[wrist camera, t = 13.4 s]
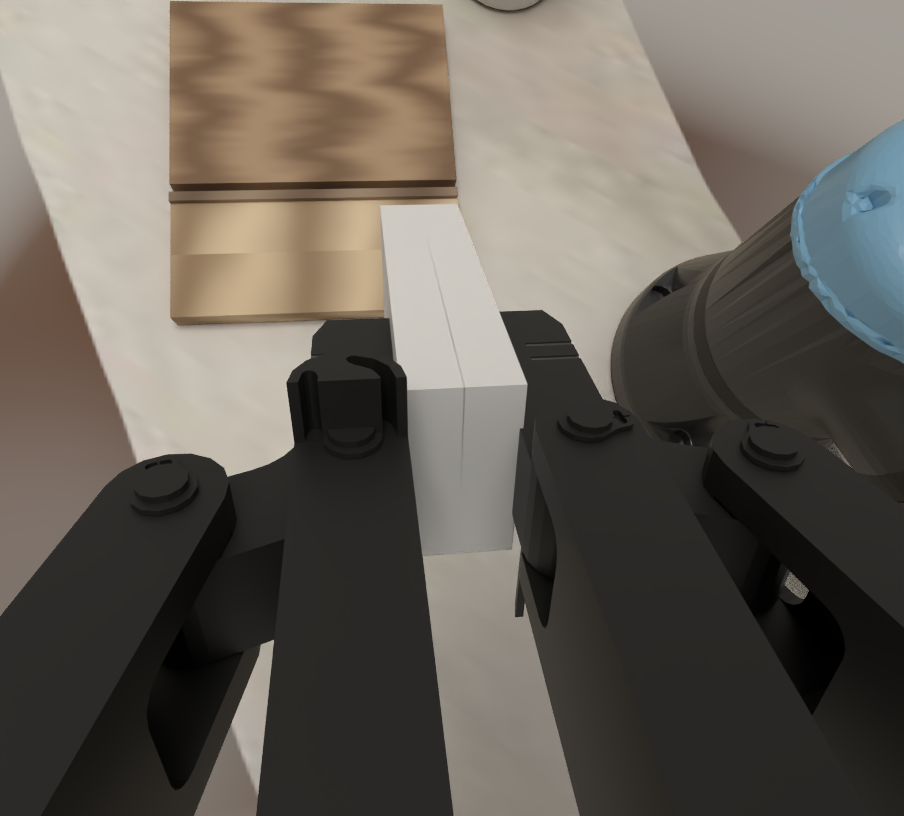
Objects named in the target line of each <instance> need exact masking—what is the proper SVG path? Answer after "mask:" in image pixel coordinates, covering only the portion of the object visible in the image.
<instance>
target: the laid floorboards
mask: <svg viewBox="0 0 904 816" xmlns="http://www.w3.org/2000/svg"><path fill="white" fill-rule="evenodd" d="M457 197H458V192H457V187H420V188H360V189H300V190H239V191H179V192H169V202H170V203H171V300H170V317H171V319H172V320H173V321H174V322H175V323H176V324H177V325H190V324H217V323H244V322H271V321H298V320H325V319H352V318H379V317H384V297H383V271H382V246H381V220H380V205H430V204H457ZM457 205H458V204H457Z"/></svg>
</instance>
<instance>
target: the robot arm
mask: <svg viewBox="0 0 904 816" xmlns="http://www.w3.org/2000/svg"><path fill="white" fill-rule="evenodd" d="M380 220H381V246H382V271H383V297H384V318H379V319H352V320H327V321H326V322H325V323H324V324H323V326H322V327H321V328H320V329H319V330H318V331H317V332H316V333H315V334H314V335H313V338H312V349H311V359H309V360H306V361H305V362H304V363H302V364H301V365H300V366H298V367H297V368H295V369H294V370H293V371H292V373H291V375H290V377H289V379H288V381H287V391H288V398H289V406H290V413H291V421H292V428H293V435H294V448H293V449H292V450H291V451H289V452H288V453H287V454H286V455H285V456H283V457H281V458H280V459H278V460H276V461H274V462H272V463H270V464H268V465H265V466H262V467H260V468H257V469H254V470H251V471H247V472H243V473H240V474H236V475H233V476H229V477H227V475H226V472H225V470H224V468H223V467H222V466H220V465H219V464H218V463H216V462H215V461H213V460H212V459H211V458H207V457H202V456H198V455H194V454H168V455H164V456H160V457H156V458H152V459H148V460H144V461H142V462H140V463H138V464H136V465H134V466H132V467H130V468H128V469H126V470H124V471H122V472H121V473H120V474H118V475H117V476H116V477H115V478H114V479H113V480H112V481H110V482H109V483H108V484H107V485H106V486H105V487H104V488H103V490H102V491H101V492H100V493H99V494H98V496H97V497H96V498H95V500H94V501H93V502H92V503H91V504H90V506H89V507H88V508H87V509H86V511H85V512H84V513H83V514H82V516H81V517H80V518H79V519H78V521H77V522H76V523H75V524H74V526H73V527H72V528H71V529H70V530H69V532H68V533H67V534H66V536H65V537H64V538H63V539H62V541H61V542H60V543H59V544H58V545H57V547H56V548H55V549H54V550H53V551H52V553H51V554H50V555H49V557H48V558H47V559H46V560H45V562H44V563H43V564H42V565H41V567H40V568H39V569H38V570H37V571H36V573H35V574H34V575H33V577H32V578H31V579H30V580H29V581H28V582H27V584H26V585H25V586H24V587H23V589H22V590H21V591H20V592H19V594H18V595H17V596H16V597H15V599H14V600H13V601H12V602H11V604H10V605H9V606H8V607H7V609H6V610H5V611H4V612H3V614H2V615H1V616H0V816H194V814H195V811H196V809H197V807H198V804H199V802H200V799H201V797H202V794H203V792H204V789H205V787H206V784H207V782H208V779H209V777H210V775H211V772H212V770H213V767H214V765H215V762H216V760H217V757H218V754H219V752H220V750H221V747H222V745H223V742H224V740H225V737H226V735H227V733H228V730H229V728H230V725H231V723H232V720H233V718H234V715H235V713H236V710H237V708H238V705H239V703H240V700H241V698H242V696H243V693H244V691H245V688H246V686H247V683H248V681H249V678H250V676H251V673H252V671H253V668H254V666H255V663H256V661H257V658H258V656H259V652H260V646H261V644H263V643H266V642H269V641H271V640H274V648H273V657H272V667H271V677H270V687H269V696H268V706H267V716H266V725H265V735H264V745H263V755H262V764H261V774H260V784H259V794H258V803H257V814H256V816H453V808H452V799H451V791H450V783H449V774H448V766H447V758H446V749H445V741H444V732H443V724H442V716H441V707H440V699H439V691H438V682H437V674H436V666H435V657H434V649H433V640H432V632H431V624H430V615H429V607H428V599H427V590H426V582H425V574H424V565H423V557H422V556H429V555H443V554H456V553H469V552H483V551H496V550H509V549H512V541H513V531H514V523H515V526H516V530H517V534H518V537H519V541H520V544H521V553H520V562H519V571H518V581H517V590H516V600H515V617H522V616H523V612H524V604H526V608H527V611H528V615H529V619H530V623H531V627H532V631H533V635H534V639H535V643H536V647H537V650H538V654H539V658H540V662H541V666H542V670H543V674H544V678H545V682H546V686H547V689H548V693H549V697H550V701H551V705H552V709H553V713H554V717H555V721H556V724H557V728H558V732H559V736H560V740H561V744H562V748H563V752H564V756H565V760H566V763H567V767H568V771H569V775H570V779H571V783H572V787H573V791H574V795H575V799H576V802H577V806H578V810H579V814H580V816H904V120H902V121H900V122H898V123H896V124H895V125H893V126H891V127H889V128H888V129H886V130H884V131H883V132H882V133H880V134H879V135H877V136H876V137H875V138H873V139H872V140H870V141H869V142H868V143H866V144H865V145H863V146H862V147H861V148H859V149H858V150H857V151H855V152H853V153H850V154H848V155H846V156H844V157H842V158H840V159H838V160H836V161H835V162H833V163H832V164H830V165H829V166H827V167H826V168H825V169H823V170H822V171H821V172H820V173H819V174H818V175H816V177H814V178H813V179H812V180H811V181H810V183H809V186H808V187H807V188H806V189H805V190H804V192H803V193H802V194H801V195H800V196H799V197H798V198H797V199H795V200H794V201H793V202H792V203H791V204H790V205H788V206H787V207H786V208H785V209H784V210H782V211H781V212H780V213H779V214H778V215H776V216H775V217H774V218H773V219H771V220H770V221H769V222H768V223H767V224H765V225H764V226H763V227H762V228H760V229H759V230H758V231H756V232H755V233H754V234H753V235H751V236H750V237H749V238H748V239H746V240H745V241H744V242H743V243H741V244H740V245H739V246H738V247H736V248H735V249H734V250H732V251H727V252H722V253H717V254H712V255H706V256H702V257H697V258H694V259H691V260H688V261H686V262H683V263H681V264H679V265H677V266H675V267H673V268H671V269H670V270H668V271H666V272H665V273H663V274H662V275H660V276H659V277H658V278H657V279H655V280H654V281H653V282H652V283H651V284H650V285H649V286H648V287H647V288H646V289H645V290H644V291H643V292H642V293H641V294H640V295H638V296H637V298H636V299H635V300H634V301H633V302H632V304H631V305H630V306H629V308H628V309H627V311H626V313H625V314H624V316H623V318H622V320H621V322H620V324H619V327H618V329H617V332H616V335H615V339H614V343H613V349H612V358H611V373H612V382H613V388H614V393H615V397H616V400H617V403H618V404H616V403H614V402H610V401H607V400H603V399H602V397H601V395H600V393H599V392H598V390H597V388H596V386H595V384H594V382H593V380H592V379H591V377H590V375H589V373H588V371H587V369H586V367H585V366H584V364H583V362H582V360H581V358H579V354H578V352H577V351H576V349H575V347H574V345H573V344H571V339H570V338H569V336H568V334H567V332H566V330H565V328H564V326H563V325H562V324H561V323H560V322H558V321H557V320H556V319H554V318H553V317H551V316H550V315H548V314H547V313H546V312H544V311H543V310H534V311H506V312H499V310H498V307H497V305H496V302H495V300H494V297H493V295H492V292H491V289H490V287H489V284H488V282H487V279H486V277H485V274H484V271H483V269H482V266H481V264H480V261H479V259H478V256H477V253H476V251H475V248H474V246H473V243H472V241H471V238H470V236H469V233H468V230H467V228H466V225H465V223H464V220H463V218H462V215H461V212H460V210H459V207H458V205H457V204H430V205H380ZM833 442H834V443H835V445H836V446H837V448H838V449H839V450H840V452H841V453H842V454H843V456H844V457H845V459H846V460H847V462H848V463H849V464H850V466H851V467H852V468H853V469H852V468H851V467H850V466H848V465H847V464H846V463H844V462H843V461H842V460H840V459H839V458H838V457H836V456H835V455H834V454H833V453H831V452H830V451H829V450H827V449H826V448H828V447H829V446H830V445H831V444H832V443H833ZM789 572H791V573H792V574H793V575H794V576H795V577H796V578H797V579H798V580H799V581H800V582H801V583H802V584H803V585H804V586H806V587H807V588H808V589H809V592H808V594H807V596H806V598H805V599H801V598H799V597H797V596H796V595H795V594H793V593H792V592H791V591H790V590H789V589H788V588H787V587H786V586H785V585H784V584H785V582H786V579H787V577H788V575H789Z"/></svg>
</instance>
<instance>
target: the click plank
mask: <svg viewBox="0 0 904 816" xmlns="http://www.w3.org/2000/svg"><path fill="white" fill-rule="evenodd" d="M455 183H456V171H455V158H454V145H453V132H452V120H451V107H450V94H449V81H448V68H447V56H446V43H445V30H444V17H443V5H432V4H350V3H269V2H188V1H170V186H171V187H172V189H173V191H174V192H179V191H239V190H300V189H360V188H420V187H455Z"/></svg>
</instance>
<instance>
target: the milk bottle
mask: <svg viewBox="0 0 904 816" xmlns="http://www.w3.org/2000/svg"><path fill="white" fill-rule="evenodd" d="M477 1H479V2H481V3H483V4H484V5H486V6H489V7H492V8H495V9H501V10H518V9H523V8H527V7H529V6H531V5H534V4H535V3H536V2H538V1H540V0H477Z"/></svg>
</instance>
